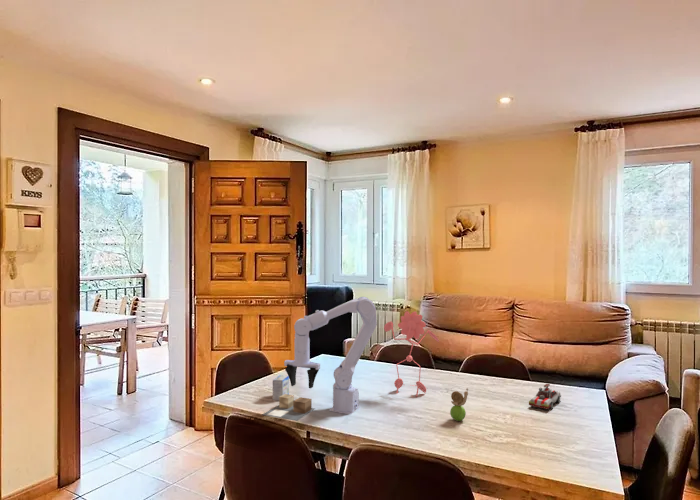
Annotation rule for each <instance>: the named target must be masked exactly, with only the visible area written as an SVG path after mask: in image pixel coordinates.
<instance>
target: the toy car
mask: <svg viewBox="0 0 700 500" xmlns="http://www.w3.org/2000/svg"><path fill="white" fill-rule="evenodd" d="M550 386H551V384H550V383H545V384H544V385H543V387H541V386H540V387H539V388H538V392H537V393H536V395H535V396H534V397H532V398H531V399H530V400H529V401H528V405H529V406H532V407H535V408H541V409H545V410H548V409H549V410H552V409H553V408H554V404H555V403H556V404H560V403H561V398H562V395H561V392H560V391H559V390H554V389H552V388H549V387H550Z"/></svg>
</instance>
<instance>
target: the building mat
mask: <svg viewBox="0 0 700 500" xmlns="http://www.w3.org/2000/svg"><path fill="white" fill-rule="evenodd" d="M315 410H316V408H314V407H311V410H310V411H308V412H307V413H305V414H304V413H298V412H293V406H292V407H290V408H289V409H287V408H281V407H279V405H277V406H275V407H273V408H272V409H270V410H267V411H266V412H264V413H263V414H261V416H267V417H273V418H277V419H278V418H279V419H285V420H290V421H294V422H297V421H299V420H301V419H302V418H304V417H305V416H307V415H308V414H310V413H312V411H315Z"/></svg>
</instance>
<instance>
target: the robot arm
mask: <svg viewBox="0 0 700 500" xmlns="http://www.w3.org/2000/svg"><path fill="white" fill-rule="evenodd" d="M347 313H354V314H357V313H358V314H359V316H360V317H361V320H362V325H361V326H360V329H359V331H358V332H357V335H356V337H355V339H354V340H353V342H352V344H351V346H350V348H349V350H348V352H347V354H346V356H345V358H344V359H343V360H342V361H341V363H340V364H339V366H338V367H336V368H335V369H334V371H333V378H334V381H335V382H334V383H333V385H332V401H333V402H332V407H331V408H330V409H328V411H329V412H336V413H341V414H346V415H352V414H354V413H355V412H356V411H357V410H359V409H360V406H359V403H360V402H359V400H360V399H359V390H358V389H359V388H357V387H356V388H355V387H353V385H352V383H353V375H354V374H355V370H356V366H357V365H358V362H359V360H360V358H361V356H362V354H363V352H364V350H365V349H366V347H367V346H368V343H369V342H370V339H371V338H372V335H373V333H374V332H375V330H376V328H377V326H378V323H377V308H376V306H375V304H374V302H373V301H372V300H371V299H369V298H368V297H366V296H360V297H358V298H354V299H351V300H349V301H347V302H344V303H341V304H339V305H337V306H335V307H333V308H331V309H329V310H327V311H325V310H324V309H323V310H319V309H316V310H315V312H314V313H312V314H309V315H304V316H303V317H301V318H299V319H297V320H296V321H295V322H294V325H293V326H294V327H293V328H294V332H295V333H294V341H293V342H294V359H293V360H292V359H285V360H284V362H283V363H284V365H283V366H284V367H285V369H284V370H285V372H286V374H287V376H289V383H290V386H291V387H294V386H296V383H297V380H296V379H297V368H305V369H308V370H306V372H307V379H308V388H309V389H312V388H314V383H315V379H316V377H317V375H318V373H319V370H320V369H321V363H319V362H315V361H310V359H311V358H310V357H311V356H310V354H311V353H310V352H311V351H310V345H311V344H310V342H311V339H310V331H314V330H315V331H316V330H318V329H319V328H322V327H324V326H325V325H328V324H329V322H330V320H332V319H334V318H337V317H339V316H341V315H344V314H347Z"/></svg>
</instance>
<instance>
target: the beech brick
mask: <svg viewBox="0 0 700 500" xmlns="http://www.w3.org/2000/svg"><path fill="white" fill-rule="evenodd" d="M294 397H295V396H294V395H293V394H289V395H288V394H284V395H282V396H280V397H279V401H278V403H279V407H281V408H287V409H289V408H290V407H292V406H293V401H294Z"/></svg>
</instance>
